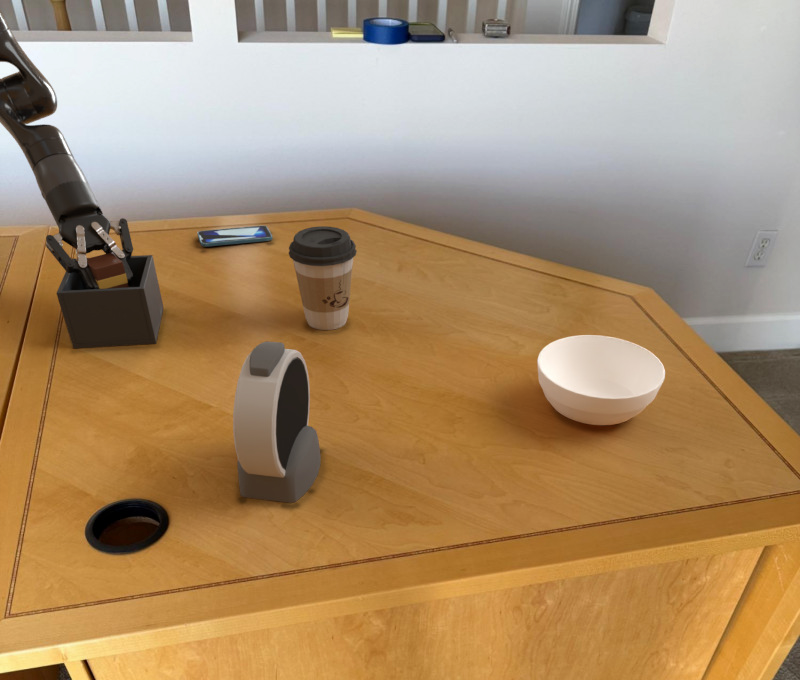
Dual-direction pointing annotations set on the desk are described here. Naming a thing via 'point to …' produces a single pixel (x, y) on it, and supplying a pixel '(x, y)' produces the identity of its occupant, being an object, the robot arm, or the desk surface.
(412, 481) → the desk surface
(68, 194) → the robot arm
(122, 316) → the trash bin
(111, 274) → the chocolate box
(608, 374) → the bowl
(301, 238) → the coffee cup
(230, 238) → the smartphone
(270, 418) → the alarm clock
